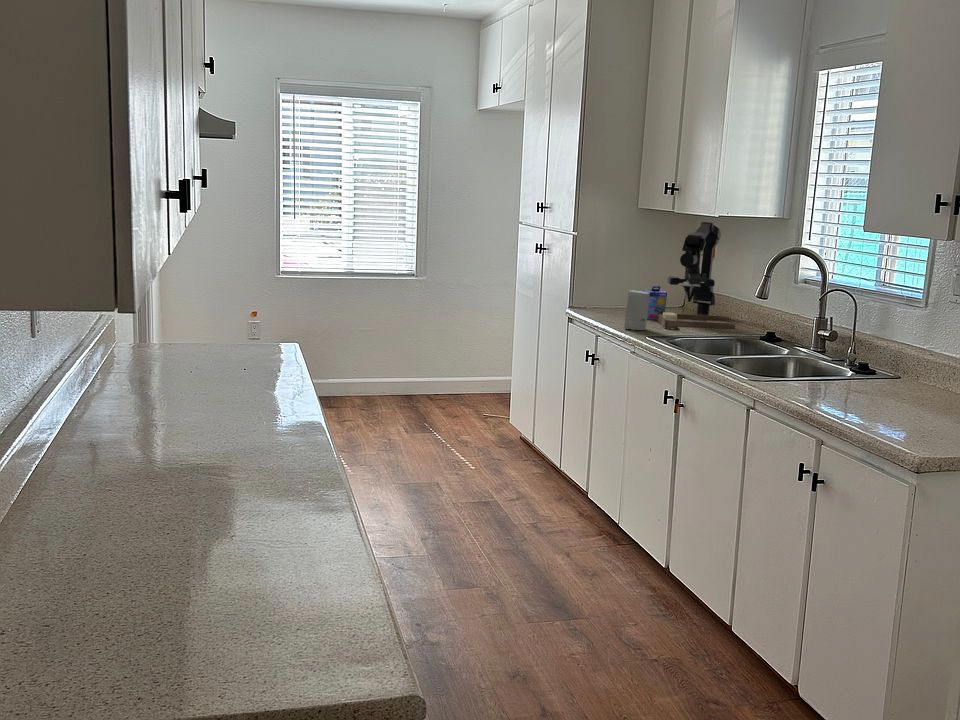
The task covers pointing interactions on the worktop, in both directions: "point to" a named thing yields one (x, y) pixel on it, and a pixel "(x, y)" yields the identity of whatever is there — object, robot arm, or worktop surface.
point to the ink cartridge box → (656, 302)
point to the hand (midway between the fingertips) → (689, 301)
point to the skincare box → (636, 310)
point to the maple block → (670, 316)
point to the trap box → (686, 321)
